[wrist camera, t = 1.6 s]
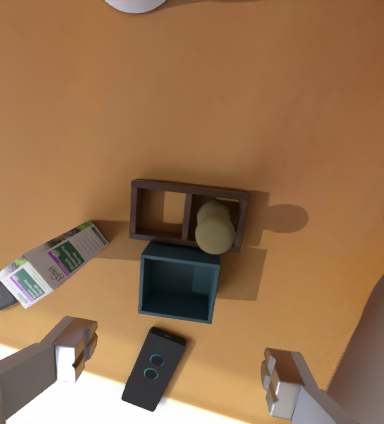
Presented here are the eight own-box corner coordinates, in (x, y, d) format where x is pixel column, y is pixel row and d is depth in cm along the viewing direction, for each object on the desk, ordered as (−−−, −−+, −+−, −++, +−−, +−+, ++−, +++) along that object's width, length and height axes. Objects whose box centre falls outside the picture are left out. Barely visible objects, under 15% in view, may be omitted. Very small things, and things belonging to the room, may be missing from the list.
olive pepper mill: (238, 216, 36) (250, 240, 25) (212, 239, 37) (214, 270, 27) (213, 191, 35) (216, 205, 24) (188, 215, 36) (180, 238, 26)
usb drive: (-21, 291, 44) (-36, 299, 41) (21, 270, 42) (8, 277, 39) (-6, 310, 45) (-19, 320, 42) (36, 290, 43) (25, 299, 40)
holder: (137, 178, 36) (131, 180, 33) (246, 191, 35) (249, 194, 32) (135, 232, 38) (129, 238, 35) (237, 245, 37) (239, 252, 34)
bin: (152, 238, 38) (140, 254, 32) (218, 247, 37) (220, 265, 31) (149, 289, 41) (137, 313, 34) (210, 298, 40) (211, 324, 34)
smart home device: (187, 347, 41) (154, 413, 46) (187, 340, 43) (156, 404, 48) (148, 332, 41) (119, 400, 46) (150, 325, 43) (122, 391, 48)
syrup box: (110, 243, 39) (55, 290, 25) (88, 259, 40) (23, 311, 26) (91, 219, 38) (22, 253, 24) (68, 235, 39) (-10, 277, 25)
